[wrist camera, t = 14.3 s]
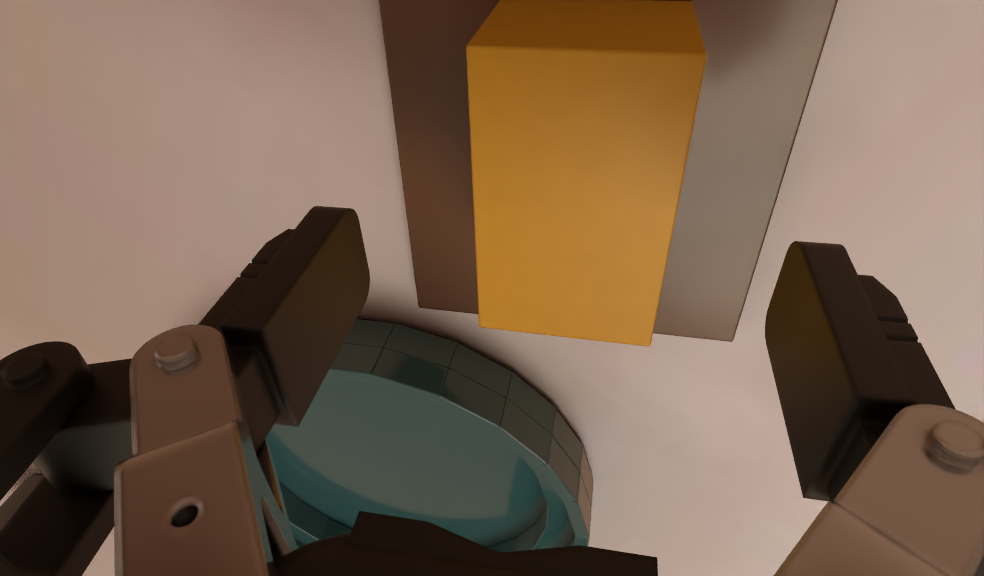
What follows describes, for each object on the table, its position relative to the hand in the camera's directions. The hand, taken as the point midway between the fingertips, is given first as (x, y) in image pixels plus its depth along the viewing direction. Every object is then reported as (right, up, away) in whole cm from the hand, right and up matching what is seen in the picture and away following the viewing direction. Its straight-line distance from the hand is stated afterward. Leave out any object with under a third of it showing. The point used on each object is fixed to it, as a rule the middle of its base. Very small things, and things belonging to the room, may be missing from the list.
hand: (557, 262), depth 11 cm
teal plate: (-6, -9, +18) cm, 21 cm away
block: (+1, +4, +5) cm, 7 cm away
